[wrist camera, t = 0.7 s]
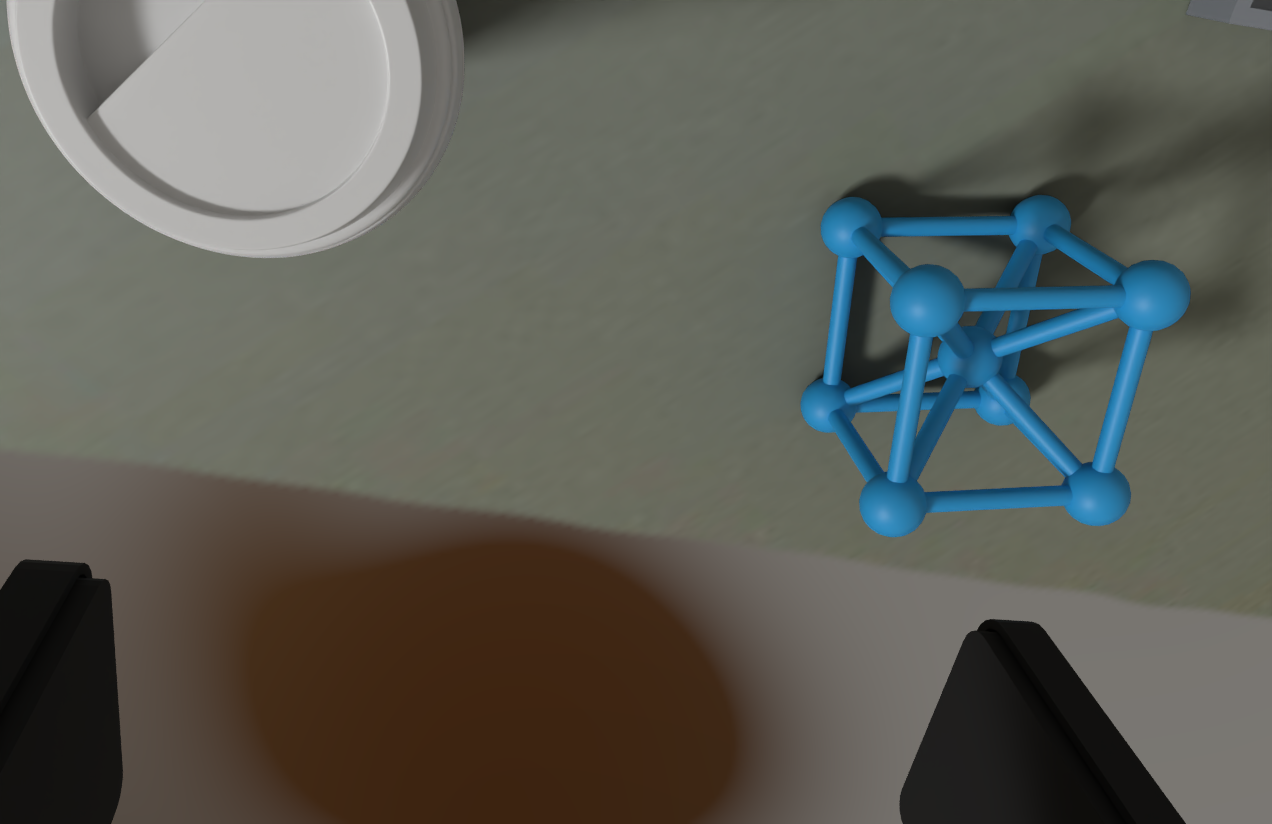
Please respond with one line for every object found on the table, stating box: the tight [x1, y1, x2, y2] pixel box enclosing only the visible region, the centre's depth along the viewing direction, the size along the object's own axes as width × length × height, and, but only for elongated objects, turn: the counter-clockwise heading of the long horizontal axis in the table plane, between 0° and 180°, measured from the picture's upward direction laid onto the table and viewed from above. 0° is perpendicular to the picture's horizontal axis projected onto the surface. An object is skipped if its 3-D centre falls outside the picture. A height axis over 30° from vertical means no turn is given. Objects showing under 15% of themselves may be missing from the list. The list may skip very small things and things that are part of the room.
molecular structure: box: [801, 195, 1191, 537], centre depth 38 cm, size 10×10×10 cm
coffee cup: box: [7, 0, 465, 258], centre depth 27 cm, size 10×10×15 cm
